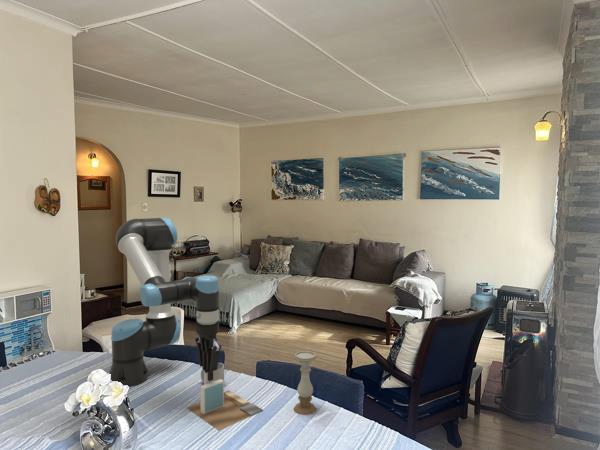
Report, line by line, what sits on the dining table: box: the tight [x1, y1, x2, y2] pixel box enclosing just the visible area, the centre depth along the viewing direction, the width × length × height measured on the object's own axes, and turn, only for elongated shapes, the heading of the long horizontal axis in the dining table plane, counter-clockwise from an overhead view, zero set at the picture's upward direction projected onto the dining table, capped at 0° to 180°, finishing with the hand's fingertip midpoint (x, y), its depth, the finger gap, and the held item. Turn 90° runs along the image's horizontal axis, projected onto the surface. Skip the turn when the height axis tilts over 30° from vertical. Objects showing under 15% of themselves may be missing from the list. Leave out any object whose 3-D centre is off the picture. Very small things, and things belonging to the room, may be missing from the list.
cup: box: [200, 362, 225, 384], centre depth 164 cm, size 7×10×9 cm
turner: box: [224, 389, 264, 417], centre depth 150 cm, size 18×5×2 cm, turn 44°
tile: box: [199, 379, 225, 414], centre depth 146 cm, size 2×8×9 cm, turn 134°
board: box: [186, 397, 265, 431], centre depth 146 cm, size 20×18×1 cm
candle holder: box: [293, 350, 318, 416], centre depth 146 cm, size 9×9×20 cm
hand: (208, 388), depth 147 cm, fingers closed
